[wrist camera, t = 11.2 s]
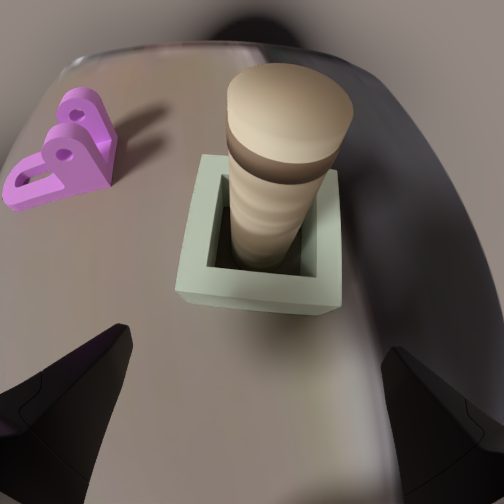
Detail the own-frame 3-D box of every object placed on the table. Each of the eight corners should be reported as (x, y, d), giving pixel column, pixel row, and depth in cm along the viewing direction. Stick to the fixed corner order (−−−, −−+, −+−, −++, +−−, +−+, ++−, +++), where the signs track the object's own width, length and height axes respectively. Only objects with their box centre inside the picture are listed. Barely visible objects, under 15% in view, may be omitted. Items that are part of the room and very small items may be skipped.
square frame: (319, 315, 17) (341, 306, 14) (188, 303, 17) (174, 290, 13) (320, 201, 20) (337, 170, 16) (207, 188, 20) (202, 154, 16)
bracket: (118, 138, 22) (94, 81, 15) (111, 187, 20) (75, 130, 13) (17, 170, 20) (-16, 132, 14) (4, 216, 18) (-37, 181, 12)
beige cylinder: (248, 285, 18) (273, 160, 6) (221, 237, 19) (204, 79, 7) (296, 257, 18) (379, 121, 7) (267, 214, 19) (303, 55, 8)
